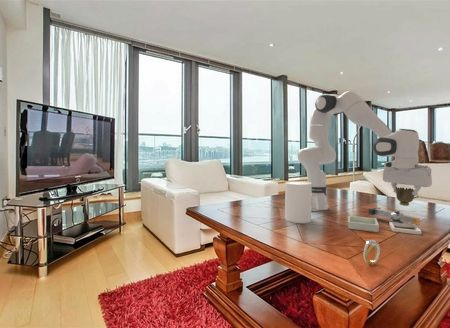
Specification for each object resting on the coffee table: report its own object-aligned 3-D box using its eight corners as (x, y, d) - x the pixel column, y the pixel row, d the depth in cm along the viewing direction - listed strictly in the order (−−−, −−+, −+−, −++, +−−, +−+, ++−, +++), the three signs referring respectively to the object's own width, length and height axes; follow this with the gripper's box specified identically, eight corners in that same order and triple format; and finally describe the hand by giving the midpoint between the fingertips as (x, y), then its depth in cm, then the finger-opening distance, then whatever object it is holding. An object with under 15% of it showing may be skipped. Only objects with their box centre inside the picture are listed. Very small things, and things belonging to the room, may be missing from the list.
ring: (374, 260, 84) (374, 237, 83) (383, 264, 81) (384, 240, 80) (359, 264, 81) (360, 240, 81) (368, 268, 78) (369, 243, 78)
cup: (417, 207, 110) (419, 189, 109) (399, 206, 111) (400, 188, 111) (408, 204, 117) (410, 187, 117) (391, 203, 118) (393, 186, 118)
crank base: (391, 224, 122) (391, 220, 122) (389, 222, 126) (389, 218, 126) (404, 226, 119) (404, 222, 119) (402, 223, 124) (402, 219, 124)
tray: (348, 228, 117) (348, 222, 117) (348, 221, 128) (348, 215, 128) (378, 232, 112) (378, 225, 111) (376, 224, 123) (376, 218, 123)
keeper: (392, 231, 112) (392, 228, 112) (389, 225, 122) (389, 222, 122) (421, 234, 108) (421, 231, 108) (415, 227, 117) (415, 224, 117)
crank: (422, 224, 115) (422, 215, 115) (413, 225, 113) (413, 216, 112) (376, 212, 136) (376, 205, 136) (368, 214, 134) (368, 206, 133)
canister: (283, 216, 141) (283, 181, 140) (307, 216, 140) (307, 181, 139) (287, 223, 127) (288, 184, 126) (314, 223, 127) (314, 184, 125)
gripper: (436, 165, 104) (434, 197, 105) (390, 162, 124) (389, 190, 124) (426, 165, 102) (424, 198, 103) (380, 163, 122) (380, 191, 122)
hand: (405, 194), depth 114 cm, fingers closed on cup, 7 cm apart
